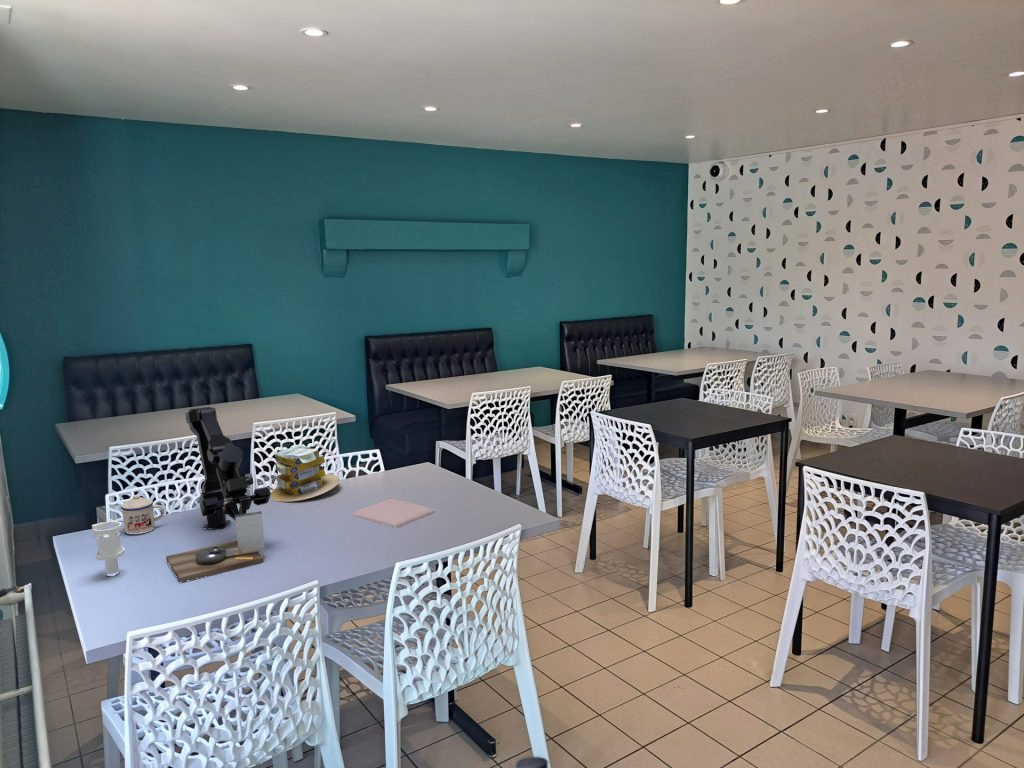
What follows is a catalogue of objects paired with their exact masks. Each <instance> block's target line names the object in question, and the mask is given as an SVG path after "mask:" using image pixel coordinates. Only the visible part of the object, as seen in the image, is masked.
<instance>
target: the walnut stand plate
mask: <svg viewBox="0 0 1024 768" xmlns="http://www.w3.org/2000/svg"><path fill="white" fill-rule="evenodd" d="M212 547H222V548H225V549H230V548H237V547H238V540H237V539H236V540H231V541H228V542H222V543H219V544H214V545H210V546H205V547H201V548H196V549H192V550H187V551H183V552H180V553H179V552H178V553H174V554H170V555H166V556H165V560H167V561H166V563H167V562H168V563H169V565H170V566H171V568H172V569H171V568H170V569H171V571H172V570H173V571H174V573H175V574H174V573H173V574H174V576H175V575H176V576H177V577H176V576H175V577H176V578H178V579H177V581H178V580H179V581H180V582H182V581H186V582H188V581H187V580H190V581H193V580H192V579H194V580H197V579H196V578H198V579H202V578H205V576H207V577H210V575H211V576H214V575H218V574H222V573H225V572H227V573H228V572H230V571H233V570H238V569H242V568H243V569H244V568H246V567H251V566H255V565H259V564H263V563H264V561H265V560H264V556H263V555H262V554H261V553H260V551H258V552H252V553H245V554H239V555H232V556H227V557H226V558H225V559H223V560H221V561H219V562H216V563H211V564H200V563H197V562H196V557H195V554H196V553H197V552H199V551H200V550H203V549H206V548H212ZM236 557H254V559H253V560H234V559H235V558H236ZM168 563H167V564H168ZM169 565H168V566H169ZM170 566H169V567H170ZM173 571H172V572H173ZM201 577H202V578H201ZM179 581H178V582H179ZM180 582H179V583H180ZM182 583H183V582H182Z"/></svg>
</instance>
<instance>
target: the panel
mask: <svg viewBox="0 0 1024 768" xmlns="http://www.w3.org/2000/svg"><path fill="white" fill-rule="evenodd" d="M435 512H436V511H435V509H433V508H431V507H428V506H423V505H420V504H416V503H412V502H408V501H404V500H399V499H396V498H392V497H391V498H389V499H388V498H387V499H386V500H383V501H380V502H378V503H375V504H372V505H369V506H366V507H364V508H363V507H362V508H361V509H359V510H356V511H355V512H354V513H352V516H353V515H354V516H353V517H355V516H357V517H356V518H359V517H361V518H360V519H362V518H364V519H363V520H366V519H367V520H366V521H369V520H371V521H370V522H373V521H374V522H373V523H376V522H378V523H377V524H380V523H382V524H381V525H383V524H386V525H385V526H387V525H389V526H388V527H390V526H392V527H391V528H394V527H396V528H395V529H397V527H398V528H400V527H399V526H401V527H402V525H403V526H405V525H404V524H406V525H408V524H410V523H412V521H413V522H415V521H417V519H418V520H420V519H422V518H424V517H426V516H429V514H430V515H433V514H435ZM419 518H420V519H419ZM414 520H415V521H414ZM409 522H410V523H409ZM407 523H408V524H407Z"/></svg>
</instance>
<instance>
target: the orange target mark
mask: <svg viewBox="0 0 1024 768" xmlns="http://www.w3.org/2000/svg"><path fill="white" fill-rule="evenodd" d="M253 559H254V557H236V558H235V559H234V560H253Z"/></svg>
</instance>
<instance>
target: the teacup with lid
mask: <svg viewBox="0 0 1024 768" xmlns="http://www.w3.org/2000/svg"><path fill="white" fill-rule="evenodd" d="M120 509H121V512H122V518H123V519H122V520H123V522H122V523H123V528H124V533H125V532H128V533H140V532H146V531H149V530H151V529H153V528H154V527H155V528H156V524H155V522H158V521H161V519H162V518H163V517H164V514H165V508H164V507H163V506H162V505H160V504H154V501H153V500H152V499H150V498H145V497H141V496H140V494H135V495H133V496H132V498H131V499H128V501H125V502H123V503H122V504H121V507H120ZM154 509H160V510H161V514H159V516H158V517H155V514H154Z"/></svg>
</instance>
